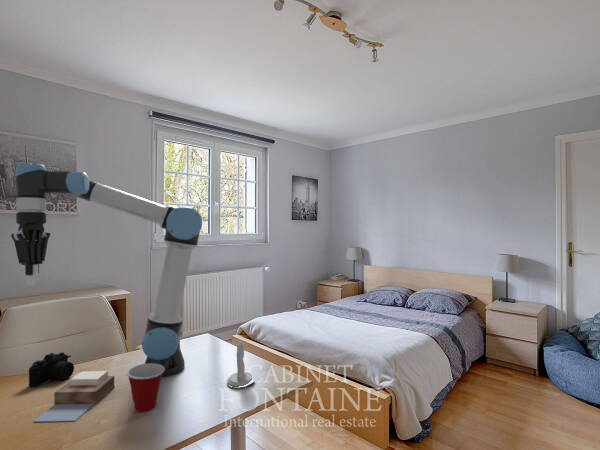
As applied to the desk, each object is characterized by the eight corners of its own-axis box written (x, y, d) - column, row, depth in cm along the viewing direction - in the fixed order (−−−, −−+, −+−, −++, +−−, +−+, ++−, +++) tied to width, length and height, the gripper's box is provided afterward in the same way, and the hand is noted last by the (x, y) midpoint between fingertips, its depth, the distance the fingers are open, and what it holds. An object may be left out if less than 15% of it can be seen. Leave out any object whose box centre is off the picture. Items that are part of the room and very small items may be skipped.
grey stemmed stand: (256, 375, 125) (256, 336, 125) (251, 388, 115) (251, 345, 115) (230, 375, 126) (230, 336, 126) (223, 388, 116) (223, 345, 116)
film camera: (47, 390, 115) (46, 364, 115) (24, 387, 117) (24, 362, 117) (83, 371, 130) (83, 348, 130) (62, 369, 132) (62, 347, 132)
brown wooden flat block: (114, 387, 117) (114, 376, 117) (96, 404, 106) (95, 391, 106) (76, 388, 117) (76, 376, 117) (54, 404, 106) (54, 392, 106)
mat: (93, 404, 106) (93, 403, 106) (75, 421, 97) (75, 420, 97) (55, 405, 105) (55, 404, 105) (33, 422, 96) (33, 421, 96)
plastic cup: (161, 414, 100) (161, 374, 100) (122, 419, 97) (122, 378, 97) (167, 396, 110) (167, 360, 110) (132, 400, 108) (132, 363, 108)
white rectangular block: (107, 376, 116) (107, 371, 116) (97, 384, 110) (97, 378, 110) (81, 377, 116) (81, 371, 116) (70, 385, 110) (70, 379, 110)
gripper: (36, 212, 113) (37, 281, 113) (1, 211, 100) (2, 288, 100) (57, 212, 113) (58, 281, 113) (26, 210, 100) (27, 288, 100)
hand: (32, 284), depth 107 cm, fingers closed
